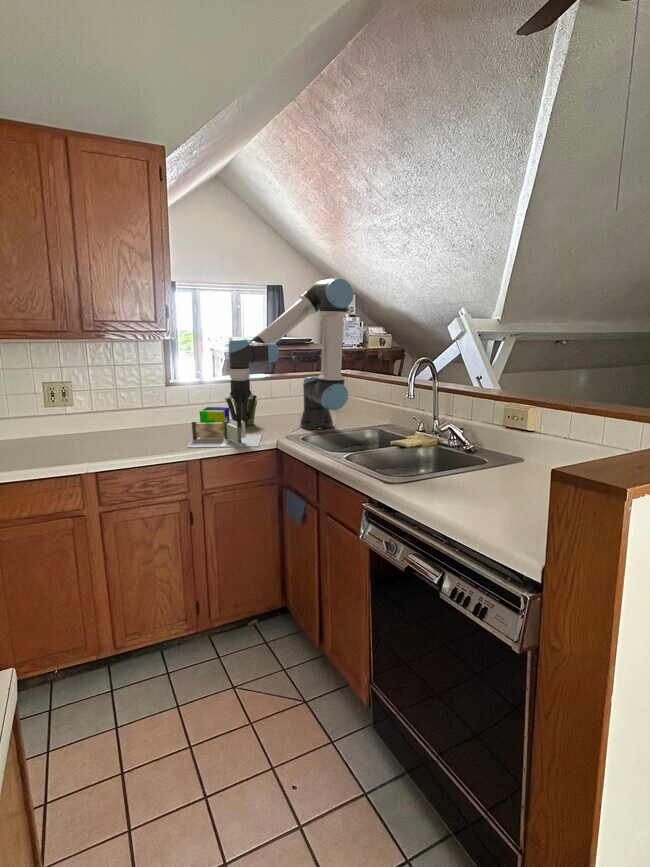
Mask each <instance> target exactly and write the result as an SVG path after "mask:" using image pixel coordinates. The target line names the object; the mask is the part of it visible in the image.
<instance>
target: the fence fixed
mask: <svg viewBox="0 0 650 867" xmlns="http://www.w3.org/2000/svg"><path fill="white" fill-rule="evenodd" d="M228 423H229V422H228V421H225V422H224V430H225V434H223V423H200V422H197V421H191V429H192V430H191V431H192V432H191V433H192V440H193V439H194V440H196V439H197V438H214V437H224V435H225V439H228V438H227V424H228Z"/></svg>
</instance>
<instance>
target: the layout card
mask: <svg viewBox="0 0 650 867" xmlns="http://www.w3.org/2000/svg"><path fill="white" fill-rule="evenodd" d="M262 436H263V435H262V434H246V438H241V441H242V443H241V444H238V443H237V442H235V441H233V440H231V439H225V434H224V437H214V438H197V439H196V440H194V439H193V438H192V440H191V441H190V442H189V444H188V445H186V449H192V448H193V449H201V448H202V449H204V448H206V449H209V448H210V449H211V448H215V449H216V448H259V447H260V443H261V440H262Z"/></svg>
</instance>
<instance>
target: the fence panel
mask: <svg viewBox="0 0 650 867" xmlns="http://www.w3.org/2000/svg"><path fill="white" fill-rule="evenodd" d="M227 438H228V439H231V440H233V441H235V442H237V443H238V444H241V443H242V441H241V427H237V425H234V424H231V423H228V424H227Z"/></svg>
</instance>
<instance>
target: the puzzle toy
mask: <svg viewBox="0 0 650 867" xmlns="http://www.w3.org/2000/svg"><path fill="white" fill-rule="evenodd" d="M225 421H228V422H229V423H230V422H231V421H230V410H229V407H225V406H224V407H222V406H221V407H217V406H216V407H215V406H214V407H213V406H207V407H205V408H203V409H202V410H200V411H199V423H223V434H224V435H225V430H224V422H225ZM230 424H231V423H230Z"/></svg>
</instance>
